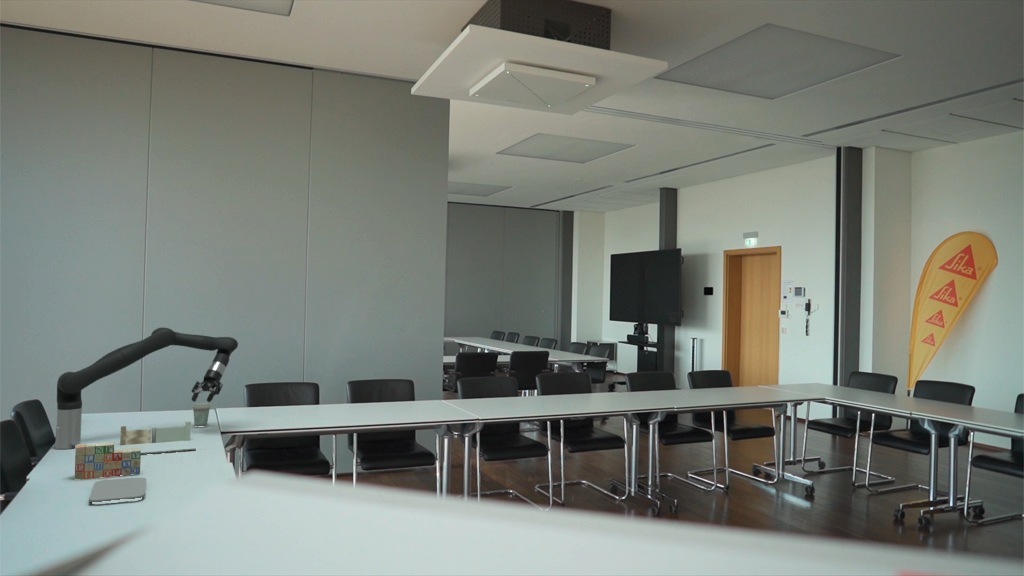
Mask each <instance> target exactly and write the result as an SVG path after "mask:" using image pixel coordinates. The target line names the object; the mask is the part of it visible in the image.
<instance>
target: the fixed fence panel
mask: <svg viewBox="0 0 1024 576" xmlns="http://www.w3.org/2000/svg"><path fill="white" fill-rule="evenodd" d="M119 439H120V441H119V445H120V446H130V445H145V444H152V443H151V442H152V428H143V429H128V430H127V425H121V426H120V438H119Z"/></svg>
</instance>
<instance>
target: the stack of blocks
mask: <svg viewBox="0 0 1024 576" xmlns="http://www.w3.org/2000/svg"><path fill="white" fill-rule="evenodd" d="M141 449H142V448H141V447H135V448H133V447H129V448H116V449H115V441H107V442H105V441H103V442H95V443H94V442H93V443H92V442H91V443H80V444H77V445H75V456H74V480H75V479H80V480H89V479H90V478H93V479H101V478H100V477H105V478H111V477H110V476H118V477H121V476H120V475H129V476H132V475H131V474H141V463H142V462H141V461H142V460H141V456H142V455H141V453H142V452H141ZM90 480H91V479H90Z"/></svg>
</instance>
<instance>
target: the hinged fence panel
mask: <svg viewBox="0 0 1024 576" xmlns="http://www.w3.org/2000/svg"><path fill="white" fill-rule="evenodd" d="M191 428H192V422H191V421H185V425H183V426H179V425H178V426H166V427H152V428H151V443H150V444H155V443H168V442H170V443H171V442H180V441H181V442H182V441H183V442H186V441H191V430H192V429H191Z"/></svg>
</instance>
